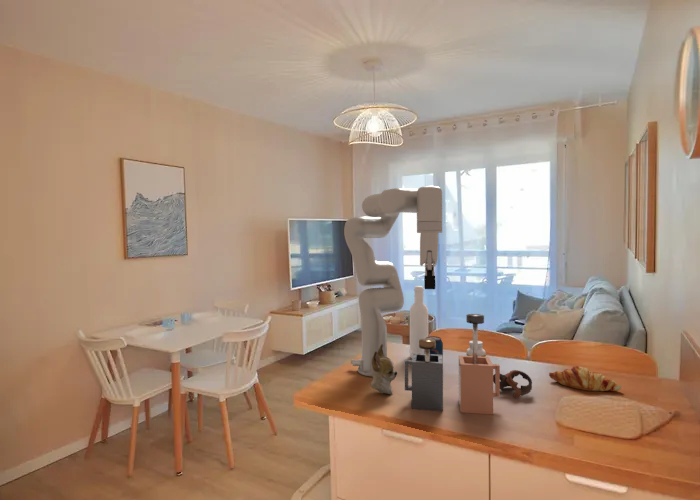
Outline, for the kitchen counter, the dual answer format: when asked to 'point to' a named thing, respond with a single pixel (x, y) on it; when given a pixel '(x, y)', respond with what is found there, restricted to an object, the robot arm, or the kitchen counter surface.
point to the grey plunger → (475, 332)
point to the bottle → (418, 322)
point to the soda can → (437, 346)
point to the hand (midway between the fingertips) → (429, 288)
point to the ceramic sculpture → (382, 372)
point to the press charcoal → (426, 382)
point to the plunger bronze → (427, 347)
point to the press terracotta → (477, 385)
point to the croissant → (584, 380)
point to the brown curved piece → (508, 381)
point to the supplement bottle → (480, 351)
